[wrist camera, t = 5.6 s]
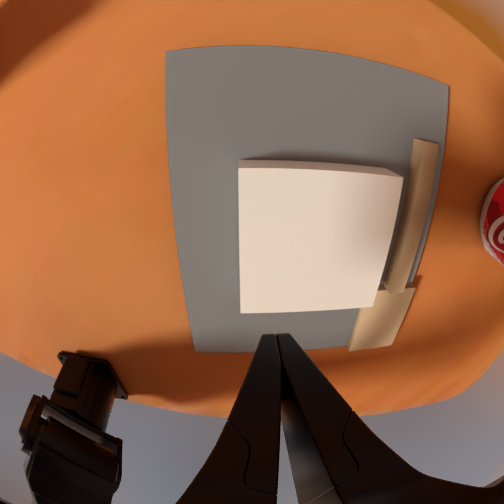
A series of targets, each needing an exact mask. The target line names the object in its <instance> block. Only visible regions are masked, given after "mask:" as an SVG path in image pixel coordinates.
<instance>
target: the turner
mask: <svg viewBox="0 0 504 504" xmlns="http://www.w3.org/2000/svg"><path fill="white" fill-rule="evenodd" d="M437 152H438V144H435V143H431V142H428V141H424V140H419V139H415V138H413V147H412V155H411V163H410V170H409V177H408V183H407V189H406V194H405V200H404V205H403V210H402V215H401V220H400V224H399V229H398V233H397V237H396V241H395V245H394V249H393V253H392V257H391V260H390V264H389V268H388V271H387V275H386V278H385V281H384V285H379V287H378V290H377V293H376V297H375V300H374V303H373V306H372V307H364V308H359V312H358V315H357V318H356V321H355V324H354V327H353V330H352V333H351V336H350V339H349V342H348V345H347V347H348V350H349V351H356V350H364V349H371V348H378V347H384V346H390V345H392V343H393V341H394V339H395V337H396V335H397V332H398V330H399V328H400V326H401V323H402V321H403V319H404V316H405V314H406V312H407V309H408V307H409V304H410V302H411V299H412V297H413V294H414V291H415V289H416V287H415V286H414V285H413V283H407V280H408V277H409V274H410V271H411V268H412V265H413V262H414V258H415V255H416V252H417V248H418V245H419V241H420V237H421V234H422V230H423V226H424V222H425V218H426V213H427V209H428V204H429V200H430V195H431V189H432V184H433V178H434V173H435V166H436V159H437Z"/></svg>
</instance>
